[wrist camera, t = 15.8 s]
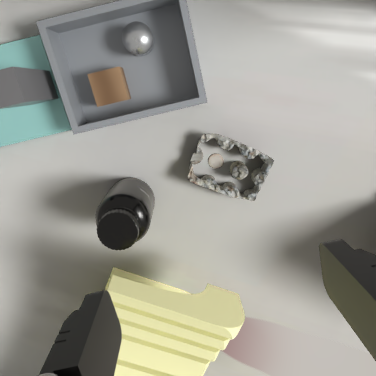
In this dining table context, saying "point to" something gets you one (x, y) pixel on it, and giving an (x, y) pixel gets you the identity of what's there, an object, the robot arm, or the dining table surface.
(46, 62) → the lid
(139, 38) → the metal knob
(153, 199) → the supplement bottle
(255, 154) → the egg carton
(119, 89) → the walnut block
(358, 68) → the dining table surface
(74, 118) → the open box
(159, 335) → the slatted curved stool
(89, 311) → the robot arm
